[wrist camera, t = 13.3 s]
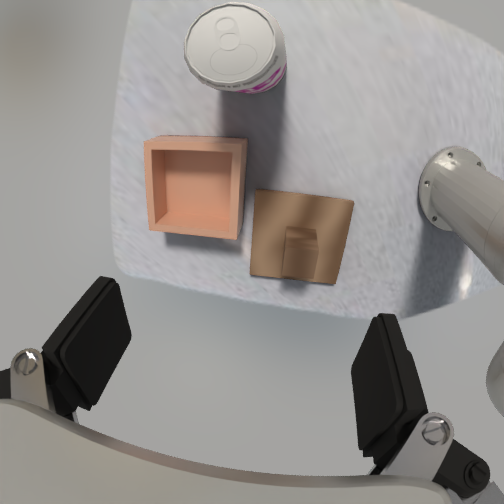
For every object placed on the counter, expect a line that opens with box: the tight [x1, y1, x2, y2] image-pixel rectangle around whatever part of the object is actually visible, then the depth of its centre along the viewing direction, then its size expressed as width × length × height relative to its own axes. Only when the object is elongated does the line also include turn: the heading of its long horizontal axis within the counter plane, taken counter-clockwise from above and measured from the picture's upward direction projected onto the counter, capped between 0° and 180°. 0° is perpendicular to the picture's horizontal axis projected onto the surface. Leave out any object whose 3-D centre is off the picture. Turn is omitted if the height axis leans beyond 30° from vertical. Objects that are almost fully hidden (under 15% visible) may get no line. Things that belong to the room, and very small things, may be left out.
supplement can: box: [184, 2, 287, 94], centre depth 24 cm, size 8×8×15 cm
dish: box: [144, 136, 248, 240], centre depth 37 cm, size 12×12×5 cm
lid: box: [250, 189, 354, 284], centre depth 38 cm, size 13×13×7 cm
